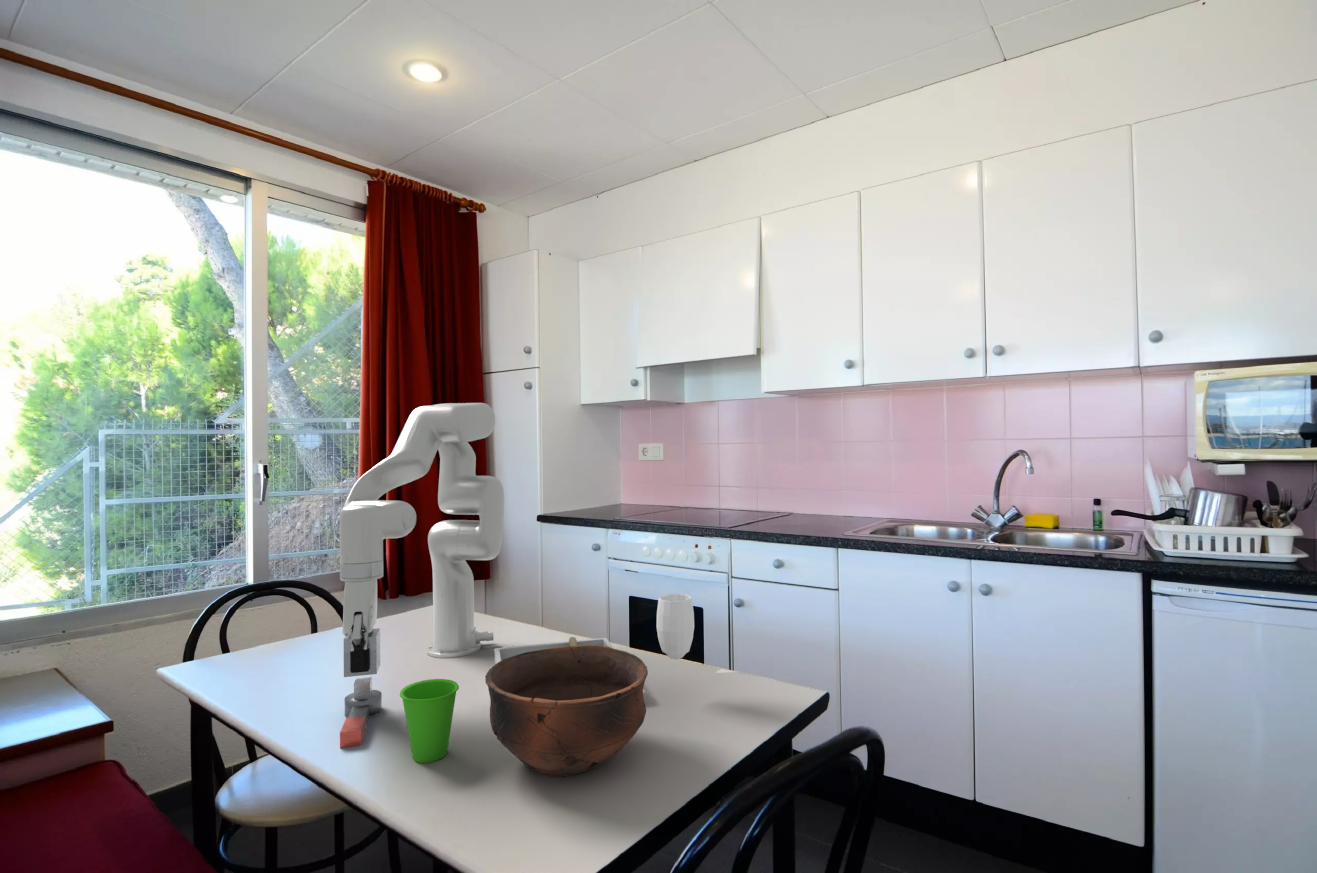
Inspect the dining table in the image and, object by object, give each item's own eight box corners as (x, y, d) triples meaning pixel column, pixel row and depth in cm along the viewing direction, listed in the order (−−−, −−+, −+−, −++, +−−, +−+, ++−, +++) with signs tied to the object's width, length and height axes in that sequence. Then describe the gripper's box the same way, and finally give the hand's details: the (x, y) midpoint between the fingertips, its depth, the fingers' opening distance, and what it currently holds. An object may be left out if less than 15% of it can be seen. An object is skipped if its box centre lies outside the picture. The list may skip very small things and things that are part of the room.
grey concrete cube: (348, 667, 128) (348, 631, 128) (380, 664, 129) (380, 628, 130) (343, 677, 123) (343, 639, 123) (376, 674, 124) (376, 636, 124)
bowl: (503, 824, 89) (501, 710, 89) (475, 746, 111) (474, 655, 111) (673, 783, 99) (672, 681, 99) (616, 719, 121) (615, 636, 121)
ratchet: (347, 707, 128) (347, 676, 128) (383, 703, 130) (383, 672, 130) (329, 749, 111) (329, 713, 111) (371, 744, 113) (370, 708, 113)
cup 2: (697, 713, 123) (696, 601, 123) (658, 715, 123) (657, 602, 123) (693, 698, 131) (691, 592, 131) (656, 699, 130) (655, 593, 130)
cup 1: (425, 776, 101) (425, 704, 101) (388, 761, 106) (387, 692, 106) (471, 752, 109) (470, 685, 109) (434, 739, 114) (433, 675, 114)
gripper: (347, 563, 133) (348, 654, 133) (331, 580, 117) (332, 684, 117) (388, 561, 135) (388, 651, 135) (377, 577, 119) (378, 679, 119)
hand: (362, 665), depth 126 cm, fingers closed on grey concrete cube, 5 cm apart
